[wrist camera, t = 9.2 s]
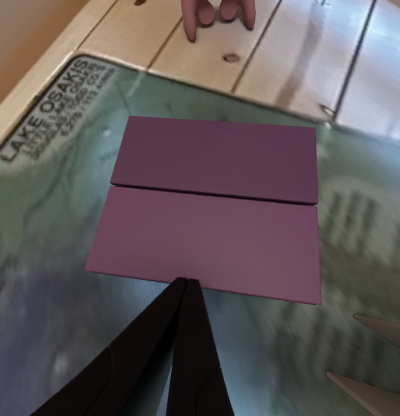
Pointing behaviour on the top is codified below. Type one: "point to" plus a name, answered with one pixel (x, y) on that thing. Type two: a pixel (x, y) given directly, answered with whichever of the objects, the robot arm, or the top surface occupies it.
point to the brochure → (367, 394)
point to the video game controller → (200, 6)
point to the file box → (219, 161)
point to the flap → (210, 242)
